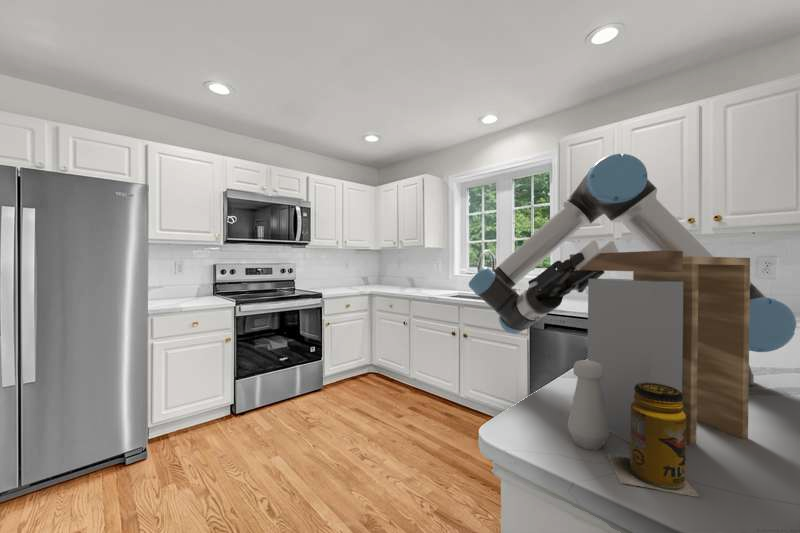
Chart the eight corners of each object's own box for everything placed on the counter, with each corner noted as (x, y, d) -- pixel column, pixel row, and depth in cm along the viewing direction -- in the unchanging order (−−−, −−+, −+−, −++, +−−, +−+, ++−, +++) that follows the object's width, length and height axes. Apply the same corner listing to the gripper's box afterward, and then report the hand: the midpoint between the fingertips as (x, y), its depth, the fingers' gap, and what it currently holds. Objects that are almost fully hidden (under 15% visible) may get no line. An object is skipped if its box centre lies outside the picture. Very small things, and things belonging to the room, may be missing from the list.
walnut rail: (582, 270, 74) (583, 254, 74) (682, 272, 54) (682, 251, 54) (569, 269, 74) (569, 254, 74) (665, 271, 53) (665, 250, 53)
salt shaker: (614, 455, 53) (615, 368, 53) (573, 450, 54) (574, 365, 54) (600, 436, 59) (601, 358, 59) (563, 433, 60) (564, 356, 60)
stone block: (613, 415, 68) (615, 278, 68) (681, 449, 55) (683, 281, 55) (586, 417, 66) (588, 278, 67) (649, 453, 54) (651, 281, 54)
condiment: (699, 498, 44) (701, 399, 44) (620, 484, 46) (621, 391, 46) (674, 466, 51) (674, 381, 51) (606, 456, 53) (607, 375, 53)
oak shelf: (682, 411, 70) (684, 259, 70) (748, 438, 59) (750, 257, 59) (631, 416, 67) (633, 257, 67) (690, 444, 57) (692, 256, 57)
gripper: (573, 313, 86) (650, 265, 66) (512, 314, 83) (574, 263, 63) (564, 285, 90) (634, 232, 70) (505, 285, 86) (561, 228, 66)
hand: (605, 247), depth 66 cm, fingers closed on walnut rail, 3 cm apart
